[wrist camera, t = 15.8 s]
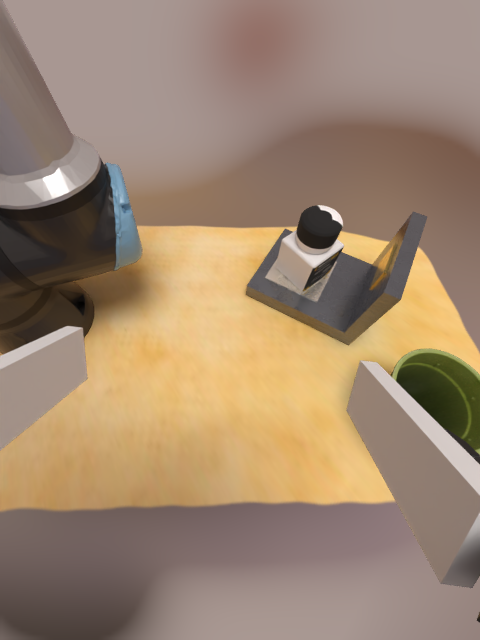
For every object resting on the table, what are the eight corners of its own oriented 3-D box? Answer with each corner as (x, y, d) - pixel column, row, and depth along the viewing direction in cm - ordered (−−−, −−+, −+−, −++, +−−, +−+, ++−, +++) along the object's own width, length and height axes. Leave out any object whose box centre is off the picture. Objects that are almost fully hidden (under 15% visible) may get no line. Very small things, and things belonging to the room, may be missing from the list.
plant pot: (438, 459, 36) (519, 465, 26) (353, 447, 36) (400, 448, 26) (422, 377, 41) (484, 354, 31) (348, 367, 41) (385, 342, 31)
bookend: (246, 294, 47) (251, 234, 34) (282, 239, 53) (299, 170, 40) (348, 345, 43) (400, 299, 30) (374, 278, 49) (427, 216, 36)
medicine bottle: (302, 293, 44) (325, 243, 33) (274, 267, 46) (287, 213, 35) (330, 272, 46) (359, 219, 35) (301, 248, 48) (321, 192, 37)
